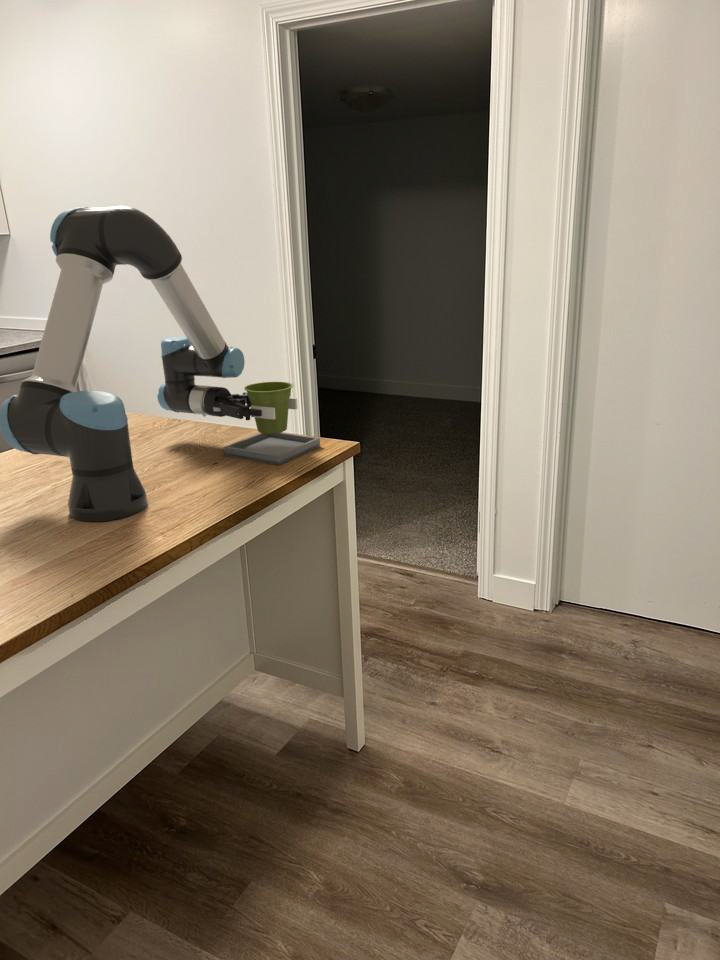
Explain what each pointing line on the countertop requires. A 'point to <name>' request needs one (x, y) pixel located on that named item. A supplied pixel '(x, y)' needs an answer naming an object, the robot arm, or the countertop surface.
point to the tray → (272, 447)
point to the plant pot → (271, 404)
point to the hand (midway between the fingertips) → (285, 408)
